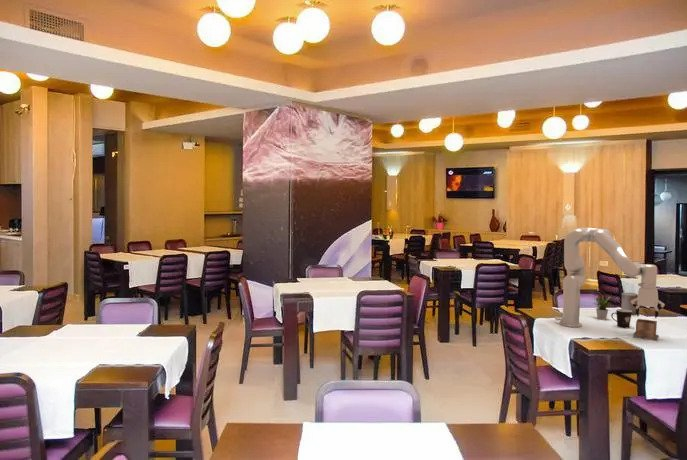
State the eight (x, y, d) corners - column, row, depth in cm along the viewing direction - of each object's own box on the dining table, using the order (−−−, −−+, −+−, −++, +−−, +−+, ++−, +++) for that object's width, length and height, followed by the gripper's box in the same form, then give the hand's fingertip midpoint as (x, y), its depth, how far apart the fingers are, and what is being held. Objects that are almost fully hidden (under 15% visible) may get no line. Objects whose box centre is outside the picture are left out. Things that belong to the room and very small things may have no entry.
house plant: (588, 319, 353) (589, 294, 352) (587, 315, 366) (588, 291, 365) (612, 322, 348) (613, 296, 347) (611, 317, 361) (612, 292, 360)
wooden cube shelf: (632, 337, 310) (633, 321, 310) (634, 333, 320) (635, 318, 320) (657, 340, 304) (658, 325, 303) (658, 336, 314) (659, 321, 313)
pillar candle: (637, 313, 375) (638, 291, 374) (636, 315, 367) (637, 293, 366) (621, 311, 380) (622, 290, 380) (620, 314, 372) (620, 292, 371)
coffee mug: (629, 325, 338) (630, 309, 338) (632, 329, 330) (633, 312, 330) (609, 324, 342) (609, 308, 341) (610, 327, 334) (611, 310, 333)
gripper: (630, 285, 312) (628, 315, 313) (665, 288, 302) (664, 320, 303) (631, 283, 318) (630, 313, 319) (666, 287, 309) (664, 317, 310)
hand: (646, 316), depth 311 cm, fingers open, 8 cm apart
